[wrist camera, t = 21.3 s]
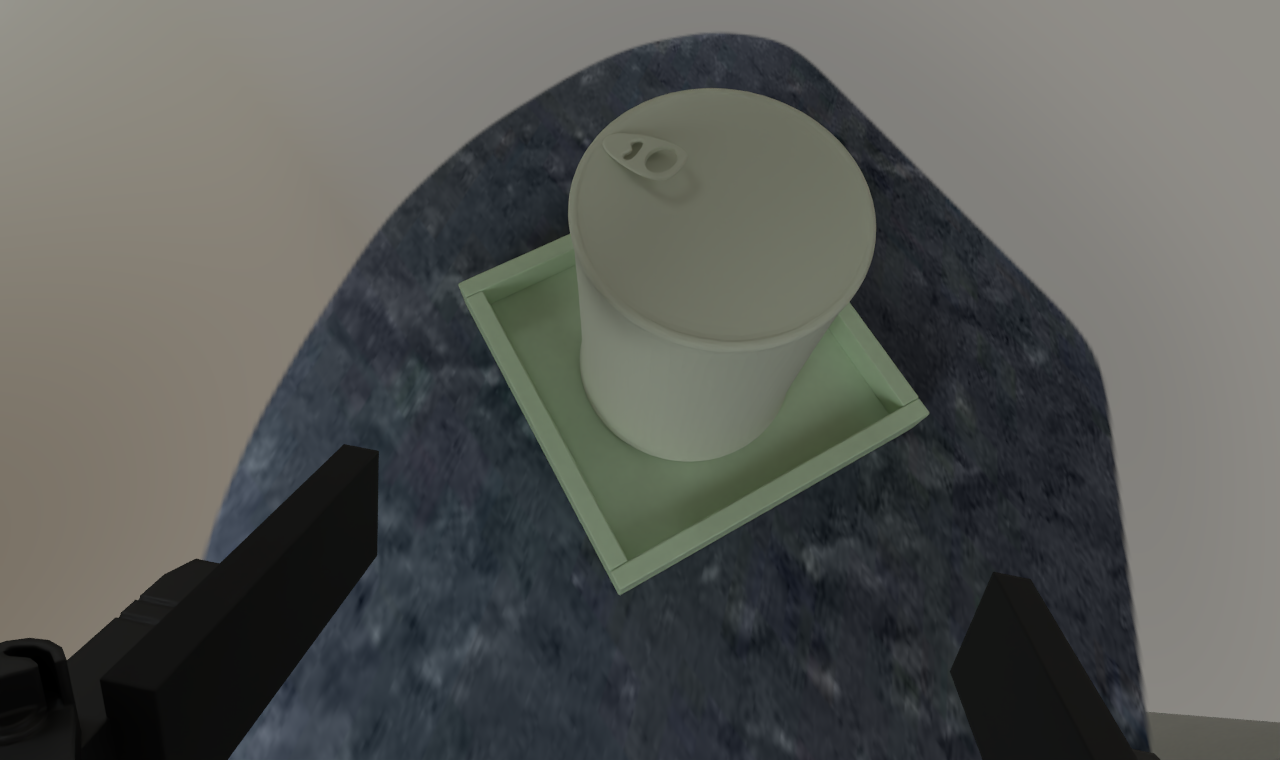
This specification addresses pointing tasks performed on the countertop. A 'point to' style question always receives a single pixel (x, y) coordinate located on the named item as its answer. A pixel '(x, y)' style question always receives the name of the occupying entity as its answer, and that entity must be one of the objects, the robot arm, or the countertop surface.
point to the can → (710, 264)
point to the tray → (665, 489)
